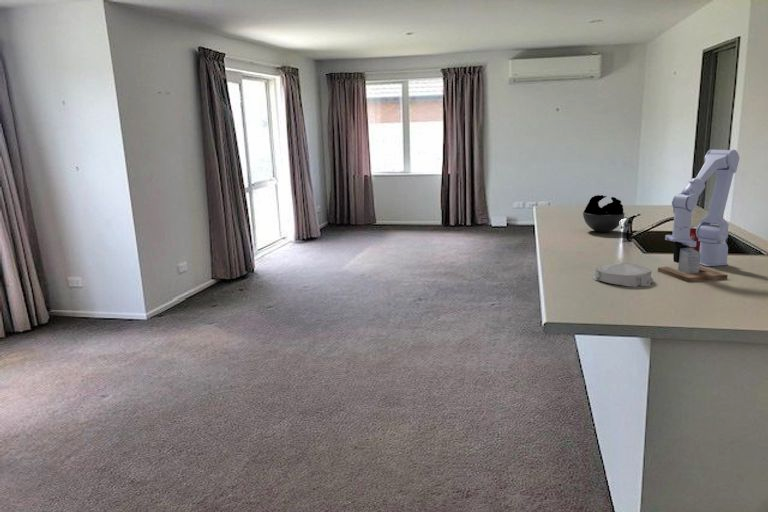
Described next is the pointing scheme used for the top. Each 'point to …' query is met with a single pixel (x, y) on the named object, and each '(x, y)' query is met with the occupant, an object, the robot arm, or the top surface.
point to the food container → (624, 274)
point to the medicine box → (689, 260)
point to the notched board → (693, 274)
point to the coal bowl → (603, 214)
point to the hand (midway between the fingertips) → (678, 262)
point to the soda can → (694, 238)
